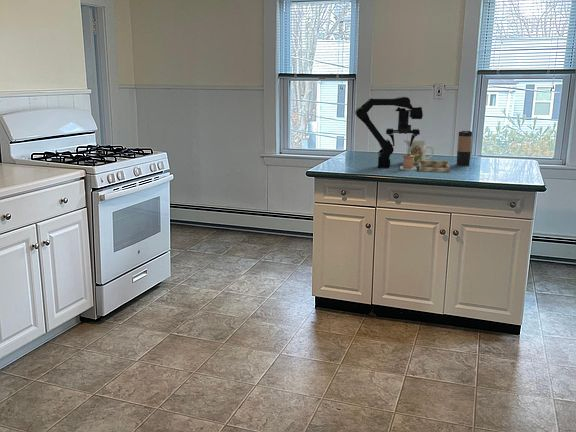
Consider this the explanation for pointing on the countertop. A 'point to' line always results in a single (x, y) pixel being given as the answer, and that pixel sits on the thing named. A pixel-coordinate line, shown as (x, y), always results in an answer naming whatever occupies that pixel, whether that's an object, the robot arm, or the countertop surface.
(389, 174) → the countertop surface
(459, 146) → the travel mug
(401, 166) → the tile
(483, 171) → the countertop surface
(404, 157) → the pot
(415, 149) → the pitcher
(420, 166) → the wooden tray
